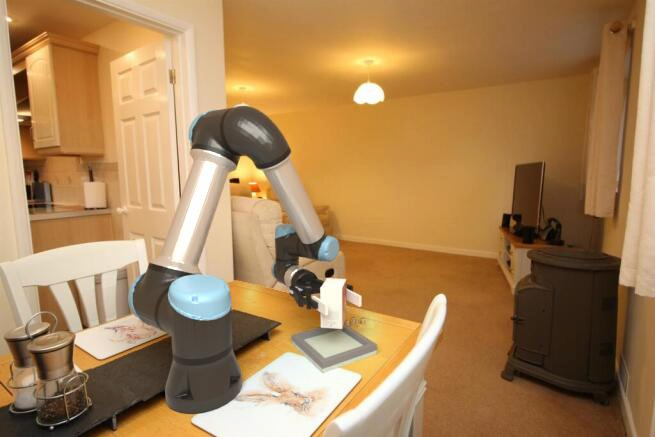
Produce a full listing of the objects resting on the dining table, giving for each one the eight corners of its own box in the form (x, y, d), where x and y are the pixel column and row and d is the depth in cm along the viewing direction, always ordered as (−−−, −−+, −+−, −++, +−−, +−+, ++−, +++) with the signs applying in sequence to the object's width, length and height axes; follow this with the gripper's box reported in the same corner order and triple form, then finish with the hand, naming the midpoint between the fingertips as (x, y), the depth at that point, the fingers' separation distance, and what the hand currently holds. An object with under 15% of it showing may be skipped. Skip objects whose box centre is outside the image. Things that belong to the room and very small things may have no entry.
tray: (322, 373, 78) (322, 362, 78) (291, 343, 91) (291, 334, 91) (376, 353, 86) (377, 344, 86) (341, 329, 100) (341, 321, 99)
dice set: (343, 327, 103) (343, 321, 102) (351, 320, 107) (351, 315, 107) (358, 331, 100) (358, 324, 100) (366, 324, 104) (366, 318, 104)
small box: (342, 330, 84) (342, 288, 82) (320, 328, 85) (319, 287, 83) (347, 316, 92) (347, 278, 90) (326, 314, 93) (326, 277, 91)
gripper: (332, 286, 109) (378, 310, 90) (267, 300, 97) (304, 331, 78) (332, 263, 108) (378, 282, 89) (266, 274, 96) (304, 299, 77)
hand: (344, 305), depth 84 cm, fingers closed on small box, 9 cm apart
